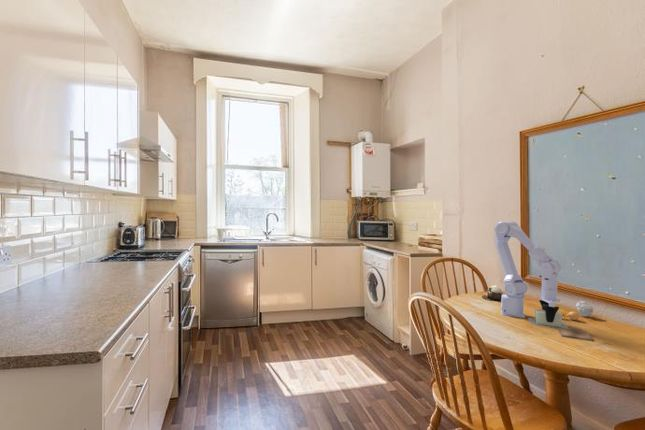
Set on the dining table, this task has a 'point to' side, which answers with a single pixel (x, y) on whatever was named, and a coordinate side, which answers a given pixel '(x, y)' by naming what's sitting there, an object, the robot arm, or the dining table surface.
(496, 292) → the skull
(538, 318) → the sage block
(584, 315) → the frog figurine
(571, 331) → the walnut pad
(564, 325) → the grey tile
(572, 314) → the figurine
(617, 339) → the dining table surface
